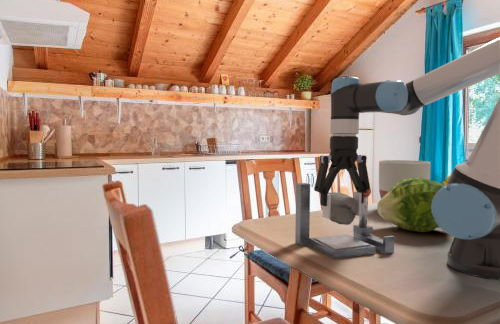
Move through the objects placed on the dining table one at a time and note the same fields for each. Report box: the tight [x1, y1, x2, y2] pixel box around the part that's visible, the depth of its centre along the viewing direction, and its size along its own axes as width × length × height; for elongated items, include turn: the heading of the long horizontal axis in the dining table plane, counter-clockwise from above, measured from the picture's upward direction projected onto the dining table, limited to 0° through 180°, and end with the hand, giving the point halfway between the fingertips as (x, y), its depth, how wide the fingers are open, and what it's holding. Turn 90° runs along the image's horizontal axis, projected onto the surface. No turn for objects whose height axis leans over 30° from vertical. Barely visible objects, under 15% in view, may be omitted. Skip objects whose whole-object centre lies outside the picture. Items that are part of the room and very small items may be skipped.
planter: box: [378, 159, 432, 200], centre depth 155 cm, size 20×20×21 cm
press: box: [294, 182, 395, 260], centre depth 102 cm, size 17×22×18 cm
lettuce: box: [376, 178, 444, 233], centre depth 121 cm, size 19×23×18 cm
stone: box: [328, 191, 357, 226], centre depth 100 cm, size 9×9×10 cm
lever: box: [352, 188, 374, 235], centre depth 108 cm, size 4×4×15 cm
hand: (341, 216), depth 99 cm, fingers closed on stone, 9 cm apart
